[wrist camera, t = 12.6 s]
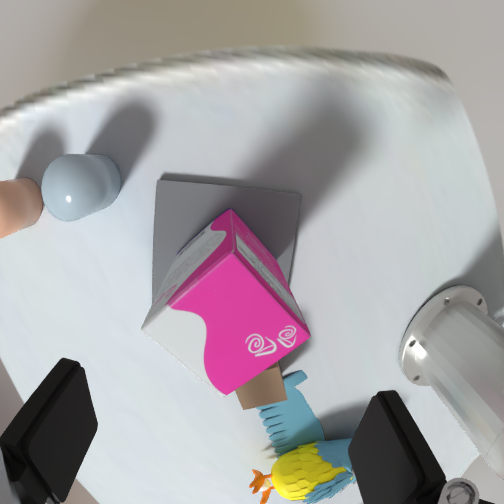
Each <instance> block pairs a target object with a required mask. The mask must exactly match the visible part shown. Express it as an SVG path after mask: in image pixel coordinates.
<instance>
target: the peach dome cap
mask: <svg viewBox="0 0 504 504" xmlns="http://www.w3.org/2000/svg"><path fill="white" fill-rule="evenodd" d="M42 208H43V199H42V194H41V191H40V188H39V187H38V185H37V184H36V182H35V181H33V180H32V179H30V178H19V179H13V180H6V181H1V182H0V239H1V238H3V237H5V236H8V235H10V234H12V233H15V232H17V231H20V230H22V229H24V228H27V227H29V226H32V225H34V224H35V223H36V222H37V221H38V219H39V218H40V215H41V213H42Z"/></svg>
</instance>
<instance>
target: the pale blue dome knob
mask: <svg viewBox="0 0 504 504" xmlns="http://www.w3.org/2000/svg"><path fill="white" fill-rule="evenodd" d="M120 187H121V176H120V172H119V169H118V167H117V165H116V164H115V163H114V162H113V161H112V160H111V159H110V158H108V157H106V156H104V155H94V154H67V155H62V156H59V157H58V158H56V159H55V160H53V161H52V162H51V163H50V164H49V166H48V167H47V169H46V171H45V173H44V176H43V179H42V187H41V190H42V198H43V201H44V204H45V206H46V208H47V210H48V211H49V212H50V213H51V214H52V215H53V216H54V217H55V218H57V219H59V220H61V221H66V222H70V221H75V220H78V219H80V218H82V217H85V216H87V215H90V214H92V213H95V212H97V211H99V210H102V209H104V208H107V207H108V206H110V205H111V204H112V203H113V202H114V201H115V199H116V198H117V196H118V194H119V191H120Z"/></svg>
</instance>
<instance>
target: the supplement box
mask: <svg viewBox="0 0 504 504" xmlns="http://www.w3.org/2000/svg"><path fill="white" fill-rule="evenodd" d="M141 330H142V331H143V332H144V333H145V334H146V335H147V336H148V337H150V338H151V339H152V340H153V341H154V342H155V343H157V344H158V345H159V346H160V347H161V348H163V349H164V350H165V351H166V352H167V353H169V354H170V355H171V356H172V357H173V358H175V359H176V360H177V361H178V362H179V363H181V364H182V365H183V366H184V367H186V368H187V369H188V370H189V371H190V372H192V373H193V374H194V375H195V376H196V377H198V378H199V379H200V380H201V381H203V382H204V383H205V384H206V385H208V386H209V387H210V388H212V389H213V390H214V391H215V392H217V393H218V394H219V395H221V396H222V397H225V396H227V395H228V394H229V393H231V392H233V391H234V390H236V389H237V388H239V387H240V386H242V385H243V384H245V383H246V382H248V381H249V380H251V379H252V378H254V377H255V376H257V375H258V374H260V373H261V372H263V371H264V370H266V369H267V368H268V367H270V366H271V365H273V364H274V363H276V362H277V361H278V360H280V359H281V358H283V357H284V356H285V355H287V354H288V353H290V352H291V351H292V350H294V349H295V348H296V347H298V346H299V345H300V344H302V343H303V342H305V341H306V340H307V339H308V338H310V337H311V335H310V332H309V330H308V327H307V325H306V323H305V320H304V318H303V316H302V314H301V312H300V310H299V308H298V305H297V303H296V301H295V299H294V297H293V294H292V292H291V290H290V288H289V286H288V284H287V282H286V280H285V277H284V275H283V273H282V271H281V269H280V267H279V264H278V262H277V260H276V259H275V257H274V256H273V255H272V254H271V253H270V252H269V251H268V249H267V248H266V247H265V246H264V245H263V244H262V242H261V241H260V240H259V239H258V238H257V237H256V235H255V234H254V233H253V232H252V231H251V230H250V228H249V227H248V226H247V225H246V224H245V223H244V222H243V221H242V219H241V218H240V217H239V216H238V215H237V214H236V213H235V212H234V211H233V209H231V208H229V209H227V210H225V211H224V212H223V213H222V214H220V215H219V216H218V217H217V218H216V219H214V220H213V221H212V222H211V223H210V224H209V225H208V226H206V227H205V228H204V229H203V230H202V231H201V232H200V233H199V234H197V235H196V236H195V237H194V238H193V239H192V240H191V241H190V242H189V243H188V244H186V245H185V246H184V247H183V248H182V249H181V250H180V251H179V252H178V253H177V254H176V257H175V259H174V262H173V264H172V266H171V268H170V270H169V272H168V274H167V275H166V277H165V279H164V282H163V283H162V286H161V288H160V289H159V292H158V294H157V296H156V298H155V300H154V302H153V304H152V306H151V308H150V310H149V312H148V315H147V317H146V319H145V321H144V323H143V325H142V327H141Z"/></svg>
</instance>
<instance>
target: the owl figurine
mask: <svg viewBox="0 0 504 504" xmlns="http://www.w3.org/2000/svg"><path fill="white" fill-rule="evenodd" d="M306 379H307V376H306V374H305V373H304V372H303V371H302V370H299V371H297V372H295V373H293V374H291V375H289V376H288V377H286V378H283V381H284V386H285V390H286V395H287V399H288V400H285V401H281V402H277V403H273V404H269V405H264V406H260V407H256V408H257V409H259V410H262V409H266V408H269V409H266V410H264V411H262V412H260V414H259V417H260V418H268V419H266V420H264V421H263V425H264V426H271V425H273V426H271V427H269V428H267V429H266V432H267V433H274V434H272V435H270V436H269V440H271V441H274V440H276V441H274V442H273V443H272V446H273V447H278V448H276V449H275V453H280V454H279V455H278V456H277V458H278V460H277V461H276V462H275V463H274V464H273V466H272V469H271V474H269V475H264V476H263V474H262V473H261V472H259V471H257V470H252V471H253V473H254V474H255V478H254V481H253V482H252V483H251V484H250V486H249V488H252V487H255V488H254V490H253V492H252V494H255V493H256V492H258V491H259V490H260V491H263V493H262V495H263V497H262V499H261V501H260V504H265V503H266V502H267V500H268V498H269V495H270V491H271V489H276V490H277V491H278V493H279V494H280V495H281V496H282V497H285V498H287V499H289V500H290V501H293V500H303V502H308V501H309V502H308V503H307V504H310V503H312V502H313V503H316V502H318V501H320V500H322V499H324V498H325V497H326V498H327V497H329V496H330V497H329V498H331V497H333V496H334V495H335V494H336V493H337V492H338V491H340V490H341V489H343V488H344V487H345V486H346V485H347V484H349V483H352V482H354V483H353V484H355V482H356V481H357V480H356V477H355V474H354V471H353V468H352V465H351V461H350V458H349V455H348V447H349V444H350V442H351V440H352V439H353V438H350V439H339V440H331V441H325V438H324V434H323V430H322V426H321V424H320V421H319V420H318V419H317V418H316V417H315V416H314V414H313V412H312V410H311V408H310V407H309V405H308V404H307V402H306V400H305V398H304V396H303V395H302V393H301V392H300V391H299V390H297V389H296V388H294V386H296V385H298V384H300V383H301V382H303V381H304V380H306ZM273 406H274V407H273ZM270 407H271V408H270ZM272 416H273V417H272ZM269 417H271V418H269ZM274 424H276V425H274ZM279 431H280V432H279ZM275 432H277V433H275ZM282 445H283V446H282ZM279 446H281V447H279ZM282 452H283V453H282ZM266 478H271V480H272V483H273V485H274V486H272V487H270V481H269V480H268V479H266ZM310 500H311V501H310ZM314 501H315V502H314Z"/></svg>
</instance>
